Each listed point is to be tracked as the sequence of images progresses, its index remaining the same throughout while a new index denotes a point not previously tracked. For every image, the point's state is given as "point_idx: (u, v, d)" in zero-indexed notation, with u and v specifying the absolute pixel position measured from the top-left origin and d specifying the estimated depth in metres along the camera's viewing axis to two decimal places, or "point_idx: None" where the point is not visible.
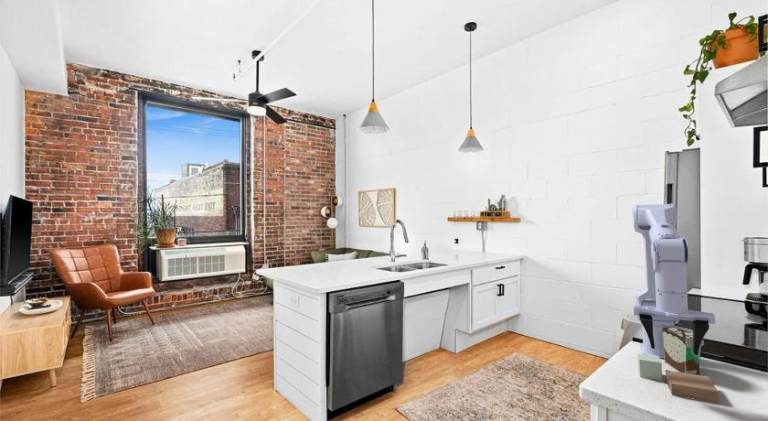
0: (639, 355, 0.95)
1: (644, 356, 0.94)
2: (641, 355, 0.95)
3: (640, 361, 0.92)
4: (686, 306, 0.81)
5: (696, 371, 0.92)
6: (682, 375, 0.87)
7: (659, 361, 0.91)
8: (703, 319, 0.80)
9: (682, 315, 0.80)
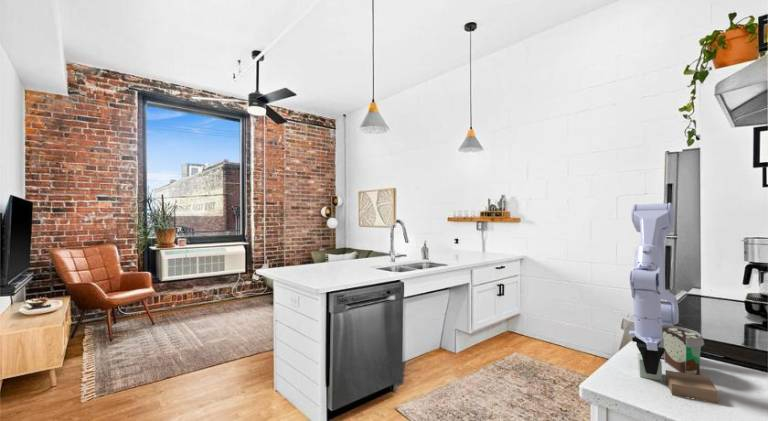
0: (639, 355, 0.95)
1: None
2: (641, 355, 0.95)
3: (640, 361, 0.92)
4: (643, 330, 0.92)
5: (696, 371, 0.92)
6: (682, 375, 0.87)
7: (659, 361, 0.91)
8: None
9: (636, 335, 0.93)
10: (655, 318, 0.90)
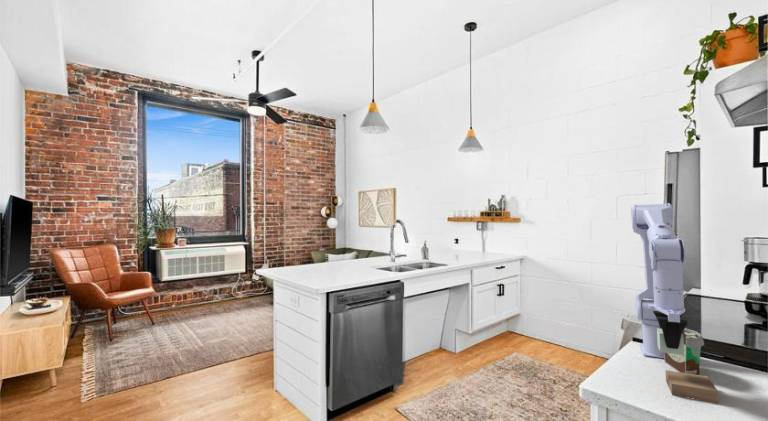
0: (659, 329, 0.90)
1: None
2: (660, 329, 0.90)
3: (660, 335, 0.87)
4: (663, 302, 0.87)
5: (696, 371, 0.92)
6: (682, 375, 0.87)
7: None
8: None
9: (656, 308, 0.88)
10: (679, 289, 0.86)
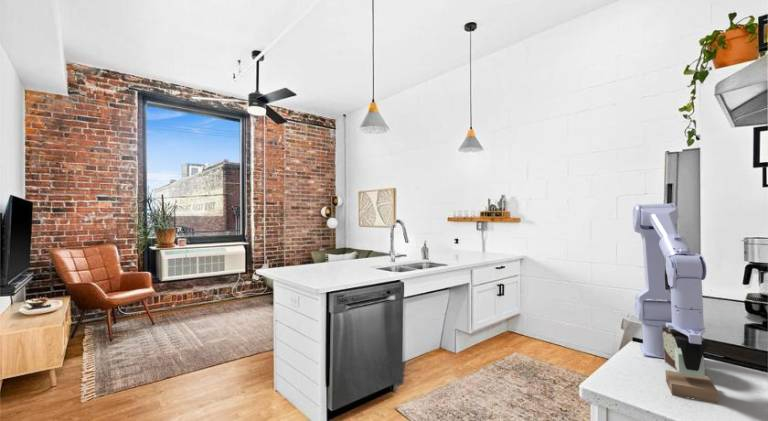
0: (677, 349, 0.86)
1: None
2: (679, 349, 0.86)
3: (679, 355, 0.84)
4: (682, 322, 0.83)
5: None
6: (682, 375, 0.87)
7: None
8: None
9: (674, 327, 0.84)
10: (700, 308, 0.82)
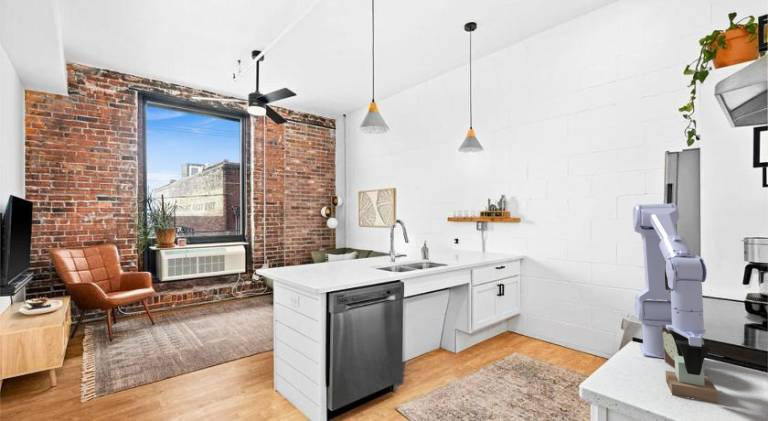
0: (677, 357, 0.86)
1: (682, 358, 0.85)
2: (679, 357, 0.86)
3: (679, 364, 0.84)
4: (682, 324, 0.83)
5: None
6: None
7: None
8: None
9: (674, 330, 0.84)
10: (700, 310, 0.82)
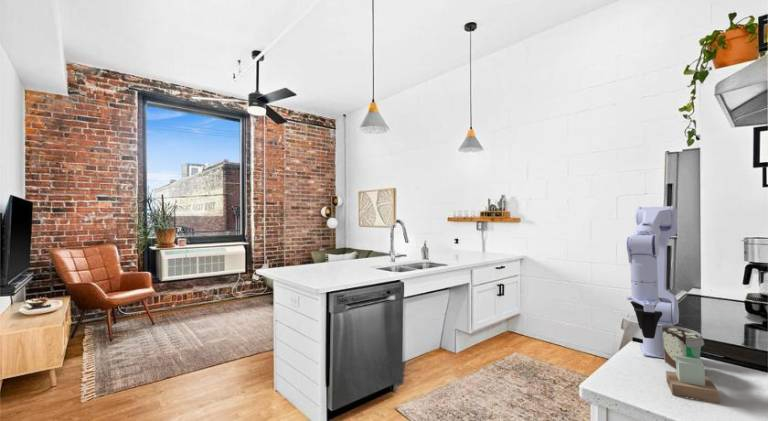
0: (677, 357, 0.86)
1: (683, 359, 0.85)
2: (679, 357, 0.86)
3: (679, 364, 0.84)
4: (640, 294, 0.93)
5: None
6: None
7: (701, 364, 0.82)
8: None
9: (633, 299, 0.94)
10: (651, 281, 0.92)
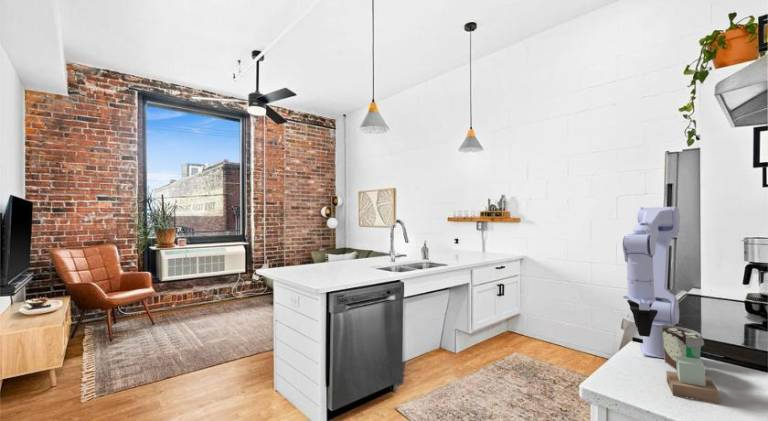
0: (678, 357, 0.86)
1: (683, 359, 0.85)
2: (680, 358, 0.86)
3: (680, 364, 0.83)
4: (636, 292, 0.94)
5: None
6: None
7: (702, 364, 0.82)
8: None
9: (629, 298, 0.95)
10: (647, 280, 0.93)
